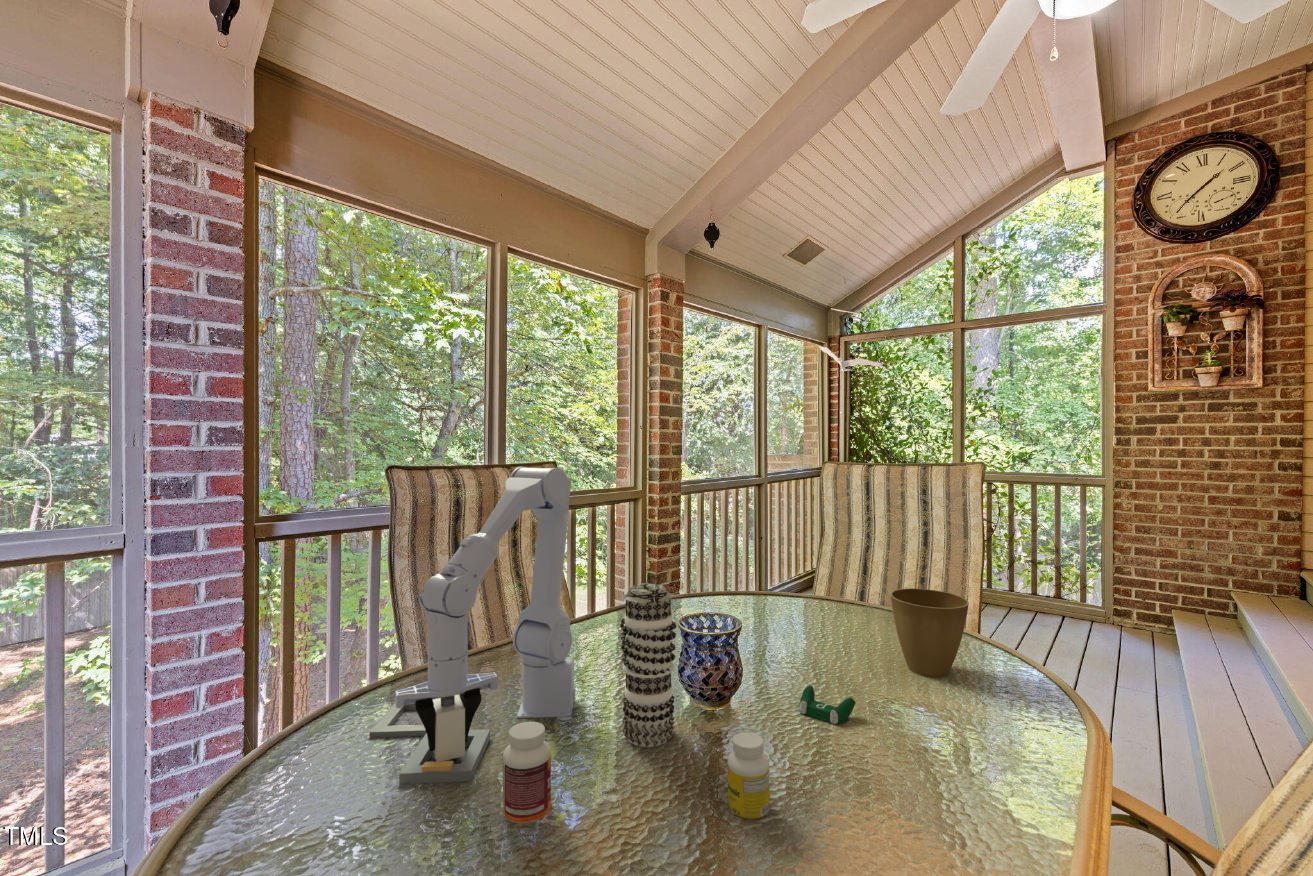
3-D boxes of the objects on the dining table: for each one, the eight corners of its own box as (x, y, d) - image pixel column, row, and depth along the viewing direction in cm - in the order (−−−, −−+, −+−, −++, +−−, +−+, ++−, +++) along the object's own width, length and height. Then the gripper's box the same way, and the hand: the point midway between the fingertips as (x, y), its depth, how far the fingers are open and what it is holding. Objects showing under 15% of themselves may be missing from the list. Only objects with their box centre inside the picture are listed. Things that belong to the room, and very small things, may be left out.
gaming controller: (808, 703, 108) (792, 715, 103) (807, 683, 108) (792, 694, 103) (856, 718, 102) (843, 732, 97) (856, 697, 102) (843, 709, 97)
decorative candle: (657, 760, 89) (657, 597, 89) (609, 744, 94) (609, 589, 94) (686, 734, 96) (686, 584, 97) (640, 720, 101) (640, 577, 101)
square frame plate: (452, 704, 108) (452, 698, 108) (431, 737, 96) (431, 730, 96) (397, 706, 107) (397, 699, 107) (369, 739, 95) (369, 732, 95)
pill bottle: (558, 818, 75) (558, 733, 75) (512, 836, 72) (512, 747, 72) (540, 794, 80) (540, 714, 80) (496, 809, 77) (496, 726, 77)
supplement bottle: (724, 802, 78) (723, 730, 78) (763, 800, 79) (763, 728, 79) (732, 829, 73) (732, 751, 73) (774, 826, 73) (774, 749, 73)
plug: (458, 737, 92) (458, 687, 92) (464, 755, 87) (464, 701, 87) (431, 744, 90) (431, 692, 90) (436, 762, 85) (436, 707, 85)
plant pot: (891, 681, 118) (890, 602, 118) (891, 656, 131) (890, 585, 132) (974, 693, 112) (973, 610, 112) (964, 665, 126) (964, 591, 126)
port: (490, 741, 94) (490, 725, 94) (471, 785, 82) (471, 766, 82) (427, 743, 94) (427, 727, 94) (399, 787, 82) (399, 769, 82)
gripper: (490, 638, 95) (490, 721, 95) (393, 654, 88) (393, 743, 88) (500, 652, 89) (500, 741, 89) (397, 670, 82) (397, 766, 82)
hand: (447, 743), depth 88 cm, fingers closed on plug, 4 cm apart
